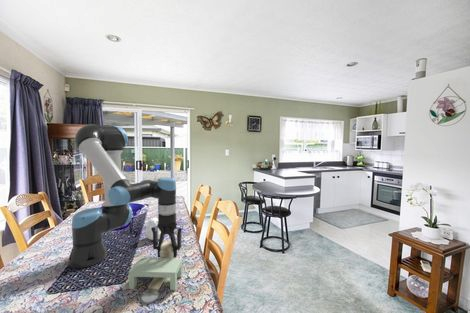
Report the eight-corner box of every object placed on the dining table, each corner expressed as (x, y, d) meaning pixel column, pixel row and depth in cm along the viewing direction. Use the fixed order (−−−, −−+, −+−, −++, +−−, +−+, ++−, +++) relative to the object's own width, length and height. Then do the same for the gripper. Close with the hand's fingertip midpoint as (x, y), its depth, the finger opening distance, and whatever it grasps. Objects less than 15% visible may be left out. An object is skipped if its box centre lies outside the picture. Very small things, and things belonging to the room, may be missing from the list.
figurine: (145, 243, 121) (145, 222, 121) (144, 237, 130) (143, 217, 129) (164, 240, 126) (163, 219, 125) (161, 234, 135) (161, 214, 134)
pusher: (147, 289, 83) (147, 260, 82) (164, 264, 101) (164, 241, 100) (159, 290, 82) (159, 261, 82) (173, 265, 100) (174, 241, 100)
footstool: (128, 288, 84) (128, 271, 83) (140, 273, 94) (140, 257, 93) (175, 290, 83) (175, 272, 83) (182, 274, 93) (182, 258, 93)
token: (138, 304, 77) (138, 299, 77) (145, 292, 83) (145, 288, 82) (155, 304, 76) (155, 300, 76) (161, 292, 82) (161, 289, 82)
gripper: (143, 215, 93) (144, 268, 95) (184, 216, 93) (184, 269, 94) (151, 209, 101) (151, 259, 102) (188, 210, 100) (188, 260, 102)
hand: (167, 263), depth 98 cm, fingers closed on pusher, 4 cm apart
